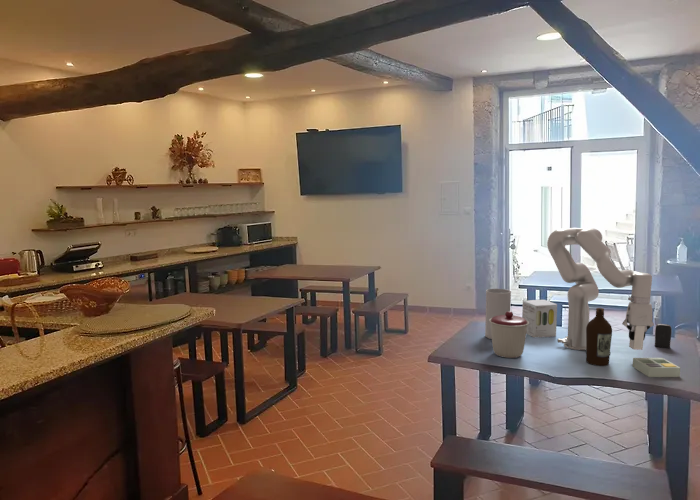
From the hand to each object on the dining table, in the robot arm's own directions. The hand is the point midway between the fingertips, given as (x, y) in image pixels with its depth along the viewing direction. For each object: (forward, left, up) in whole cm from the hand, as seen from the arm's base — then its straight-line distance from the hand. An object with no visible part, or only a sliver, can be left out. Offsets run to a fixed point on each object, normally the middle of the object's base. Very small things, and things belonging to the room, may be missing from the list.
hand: (636, 339), depth 244 cm
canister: (-56, +9, -10) cm, 57 cm away
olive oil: (-19, -3, -10) cm, 21 cm away
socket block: (+1, -15, -10) cm, 18 cm away
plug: (0, 0, -4) cm, 4 cm away
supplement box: (-29, +45, -10) cm, 55 cm away
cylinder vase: (-53, +39, -10) cm, 67 cm away
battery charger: (+24, +21, -10) cm, 34 cm away
